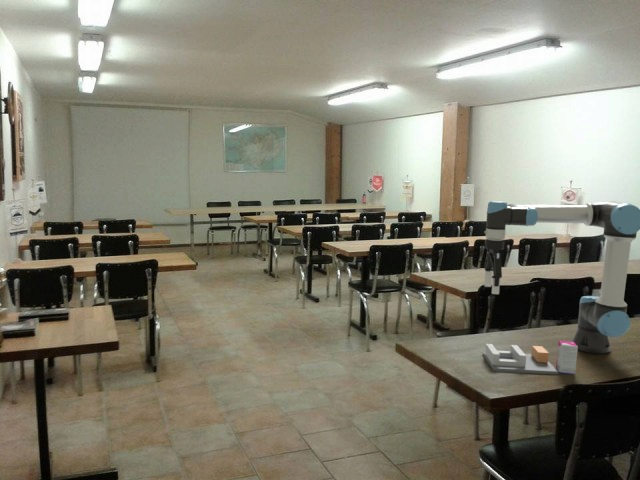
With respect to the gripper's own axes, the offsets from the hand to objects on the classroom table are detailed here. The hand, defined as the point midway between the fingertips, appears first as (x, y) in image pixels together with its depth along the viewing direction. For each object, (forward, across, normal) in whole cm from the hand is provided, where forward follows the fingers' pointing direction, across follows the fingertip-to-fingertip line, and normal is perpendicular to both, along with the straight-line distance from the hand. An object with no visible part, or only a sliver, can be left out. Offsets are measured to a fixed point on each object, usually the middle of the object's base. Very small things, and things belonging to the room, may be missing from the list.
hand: (491, 290), depth 224 cm
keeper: (+26, +8, +19) cm, 33 cm away
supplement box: (+28, +17, +26) cm, 41 cm away
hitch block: (+27, +11, +10) cm, 31 cm away
